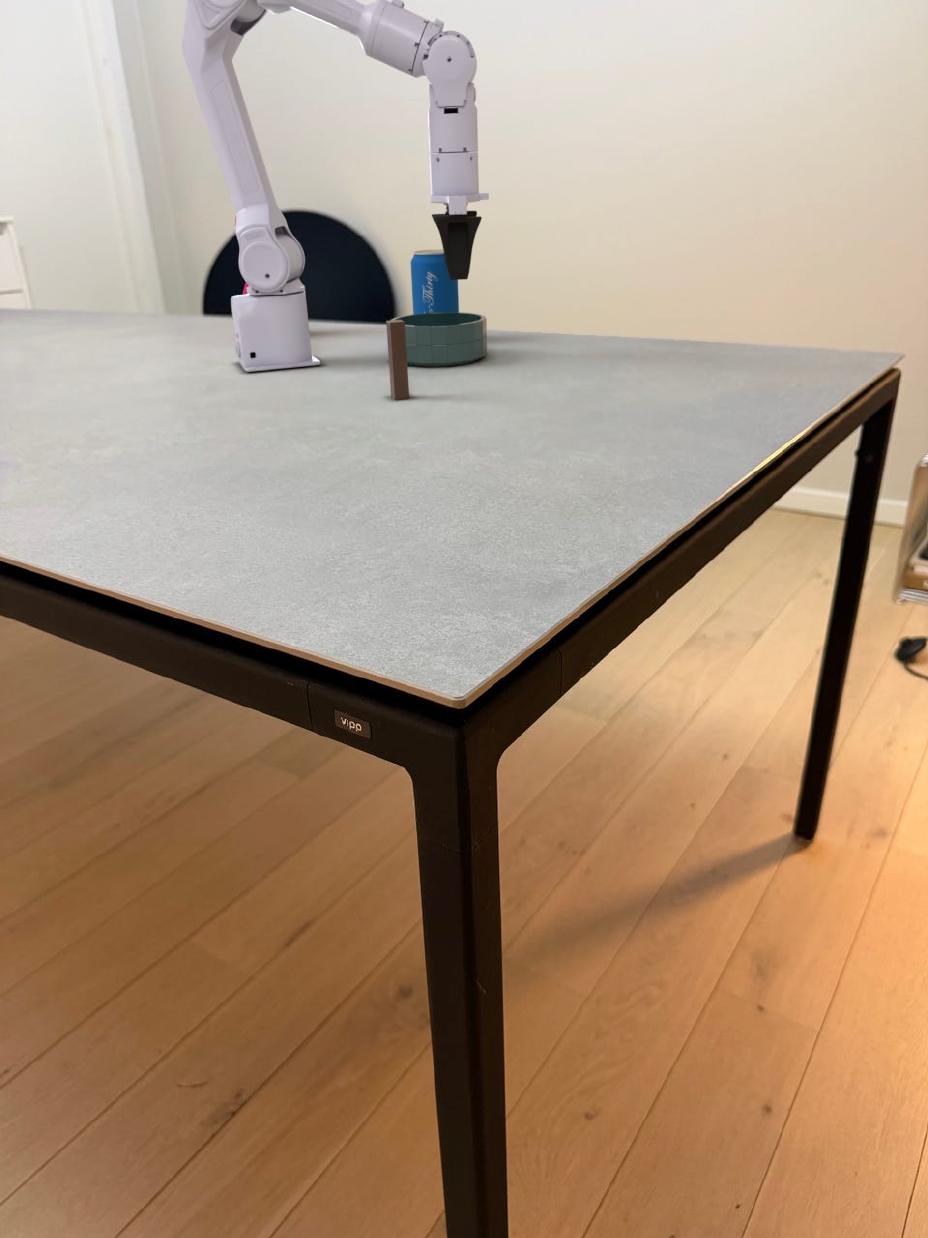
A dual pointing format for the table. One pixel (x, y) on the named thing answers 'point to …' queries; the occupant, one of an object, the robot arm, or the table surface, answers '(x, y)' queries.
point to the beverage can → (432, 283)
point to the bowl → (444, 338)
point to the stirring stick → (397, 359)
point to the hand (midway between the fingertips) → (457, 275)
